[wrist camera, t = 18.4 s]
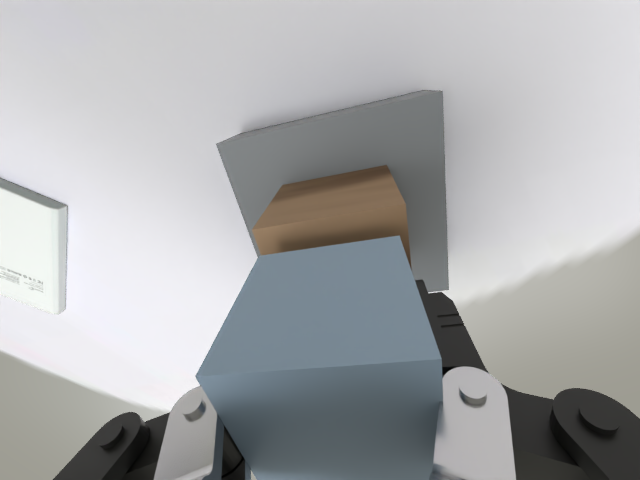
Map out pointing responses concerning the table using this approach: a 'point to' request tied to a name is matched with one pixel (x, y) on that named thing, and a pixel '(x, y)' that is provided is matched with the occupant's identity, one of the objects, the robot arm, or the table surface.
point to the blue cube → (329, 366)
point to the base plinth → (355, 165)
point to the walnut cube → (334, 212)
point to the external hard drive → (32, 248)
